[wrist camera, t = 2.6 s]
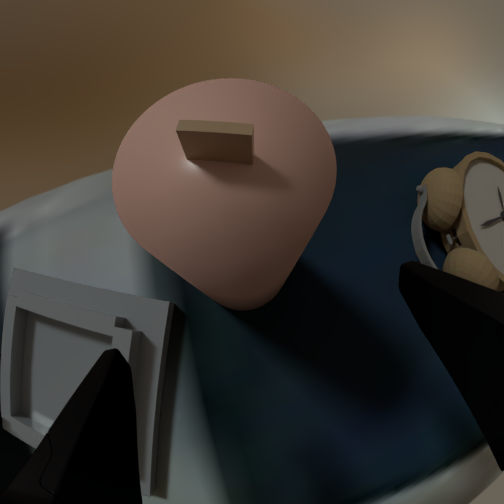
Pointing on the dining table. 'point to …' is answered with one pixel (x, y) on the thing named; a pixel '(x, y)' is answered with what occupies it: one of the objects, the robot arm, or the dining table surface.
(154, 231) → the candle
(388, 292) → the dining table surface
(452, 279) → the robot arm
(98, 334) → the dish
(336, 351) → the dining table surface
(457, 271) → the alarm clock
